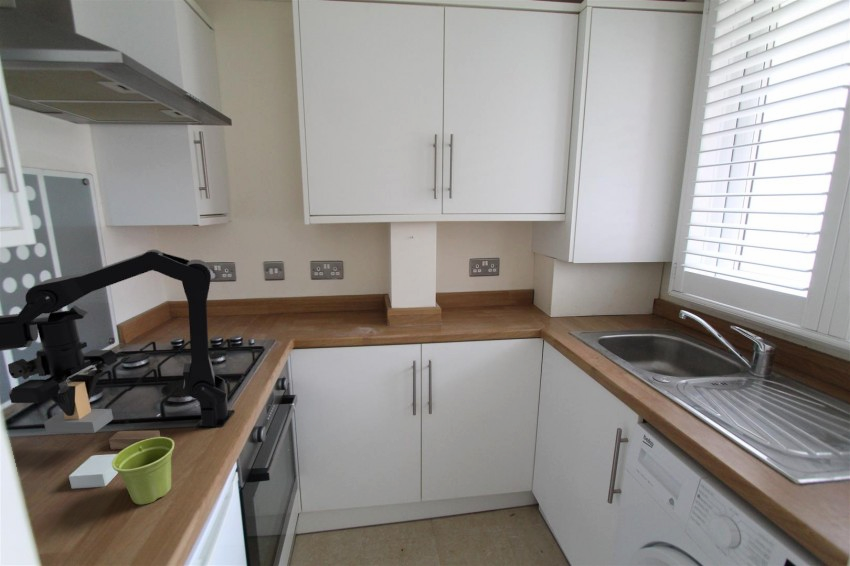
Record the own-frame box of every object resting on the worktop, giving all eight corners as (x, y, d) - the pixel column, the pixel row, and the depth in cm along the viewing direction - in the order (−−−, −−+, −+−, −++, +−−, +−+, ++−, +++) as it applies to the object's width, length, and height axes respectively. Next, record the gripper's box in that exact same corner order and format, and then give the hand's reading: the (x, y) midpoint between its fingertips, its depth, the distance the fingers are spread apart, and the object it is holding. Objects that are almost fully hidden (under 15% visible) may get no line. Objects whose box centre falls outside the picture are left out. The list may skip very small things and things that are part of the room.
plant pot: (109, 516, 68) (99, 473, 66) (137, 478, 77) (129, 439, 75) (168, 508, 70) (160, 466, 68) (189, 472, 79) (182, 434, 77)
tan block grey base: (68, 419, 86) (58, 379, 84) (113, 419, 86) (104, 379, 84) (46, 433, 81) (35, 391, 79) (94, 432, 81) (85, 391, 79)
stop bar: (121, 440, 89) (119, 431, 88) (161, 440, 89) (159, 430, 88) (110, 449, 86) (108, 439, 85) (152, 448, 86) (150, 438, 85)
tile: (94, 468, 80) (92, 455, 80) (125, 466, 81) (123, 453, 80) (72, 489, 75) (68, 476, 74) (105, 487, 75) (102, 474, 74)
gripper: (63, 326, 88) (77, 389, 92) (-31, 361, 70) (-9, 438, 74) (112, 326, 88) (125, 389, 92) (30, 361, 70) (50, 438, 74)
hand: (77, 411), depth 83 cm, fingers closed on tan block grey base, 3 cm apart
